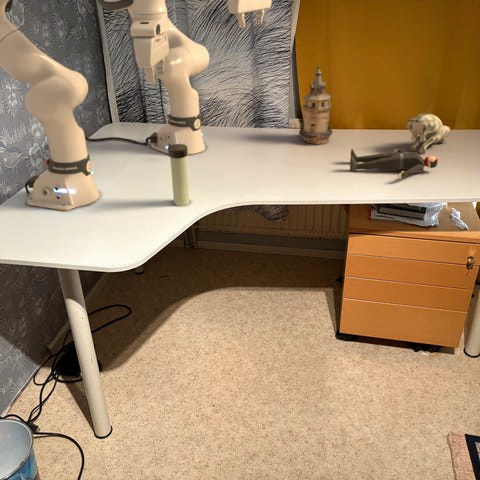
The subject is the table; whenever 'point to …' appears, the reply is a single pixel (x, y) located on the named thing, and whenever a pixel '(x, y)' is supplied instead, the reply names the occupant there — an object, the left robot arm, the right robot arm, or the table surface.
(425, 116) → the figurine
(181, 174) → the pale green tall cylinder
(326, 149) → the table surface
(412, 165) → the toy
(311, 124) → the miniature building
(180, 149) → the lid
